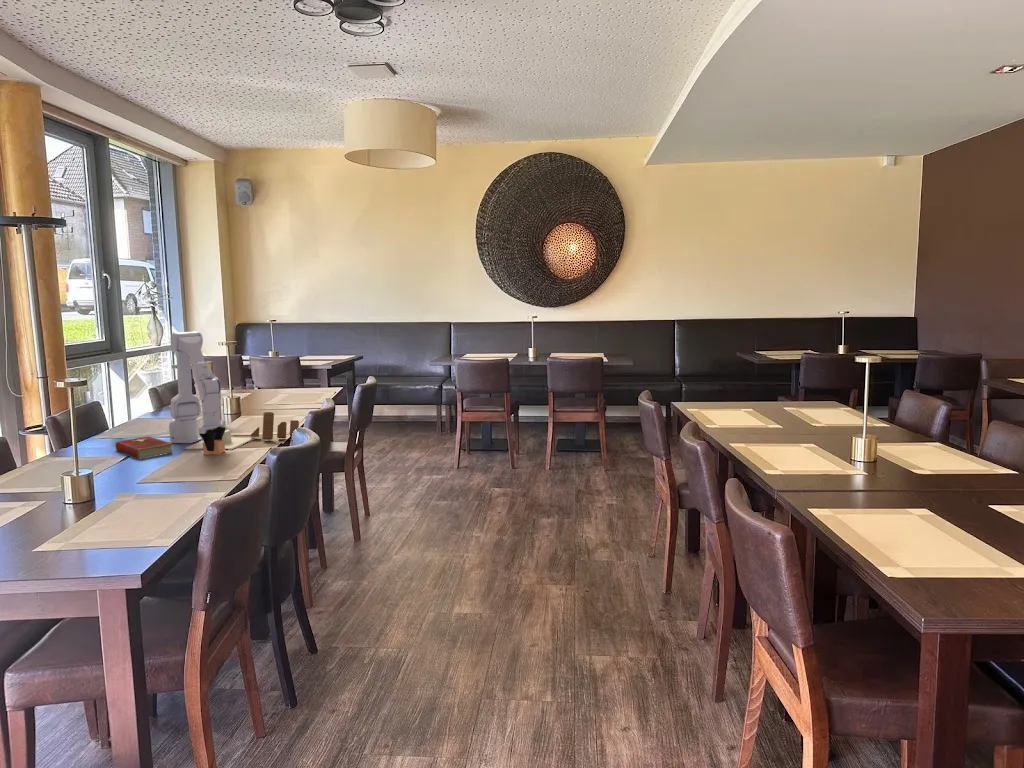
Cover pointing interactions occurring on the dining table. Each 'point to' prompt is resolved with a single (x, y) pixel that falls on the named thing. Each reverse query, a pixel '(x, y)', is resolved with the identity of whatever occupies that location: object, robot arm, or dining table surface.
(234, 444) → the build pad
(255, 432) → the wooden block set
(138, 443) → the hardcover book
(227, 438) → the sage block
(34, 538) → the dining table surface
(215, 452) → the terracotta block
